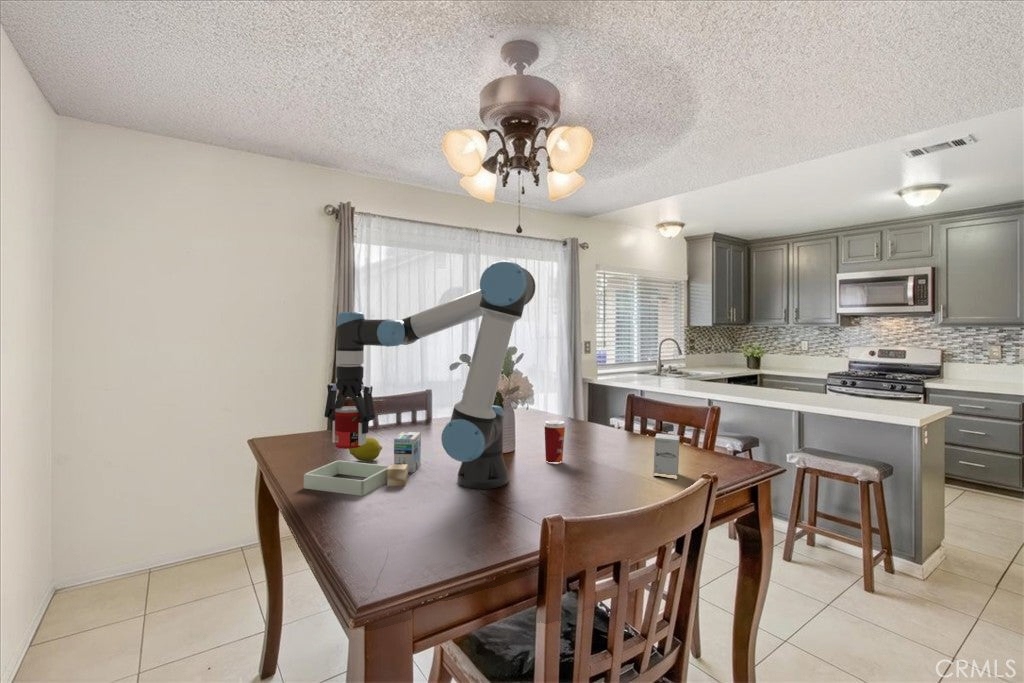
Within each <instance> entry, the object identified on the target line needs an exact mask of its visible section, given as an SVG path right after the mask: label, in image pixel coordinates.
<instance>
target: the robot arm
mask: <svg viewBox="0 0 1024 683" xmlns="http://www.w3.org/2000/svg"><path fill="white" fill-rule="evenodd" d="M535 292H536V281H535V278H534V276H533V275H532V274H531V272H530V271H529V270H527V268H524V267H521V265H519V264H518V263H515V262H513V261H508V260H500V261H495V262H493V263H491V264H490V265H488V266H487V267H486V269H484V270H483V272H482V274H481V276H480V280H479V289H477V290H474V291H473V292H469V293H467V294H464V295H461V296H460V297H456V298H454V299H452V300H449V301H447V302H444V303H442V304H441V303H440V304H439V305H436V306H434V307H431V308H429V309H426V310H423V311H421V312H419V313H415V314H412V315H410V316H407V317H404V318H403V319H400V320H399V319H390V318H389V319H388V318H387V319H386V318H385V319H367V318H365V314H364V313H363V312H355V311H354V312H353V311H352V312H351V311H350V312H349V311H340V312H338V314H337V317H336V326H335V328H336V353H335V354H336V355H335V356H336V359H335V360H336V361H335V364H336V365H337V366H336V368H335V369H336V371H335V378H336V380H337V381H336V383H328V384H327V396H326V403H325V407H324V408H325V410H324V417H325V418H328V419H329V420H330V431H332V442H331V443H333V444H335V409H336V408H341V407H344V404H345V402H346V400H347V399H348V398H349V399H351V400H352V401H353V403H354V405H355V406H356V408H357V410H358V412H359V413H358V414H359V417H360V420H361V422H360V423H359V429H358V445H359V446H361V445H364V444H366V438H367V434H368V433H369V422H370V421H373V420H375V418H376V414H375V408H374V400H373V395H372V394H373V386H372V385H365V384H364V382H363V380H364V373H365V372H364V366H363V364H364V358H365V357H364V354H365V352H364V348H365V346H375V347H376V346H378V347H379V346H380V347H387V348H389V347H398V346H400V345H402V346H406V345H407V346H408V345H411V344H414V343H416V342H417V341H418V340H420V339H423V338H425V337H428V336H430V335H433V334H437V333H439V332H442V331H445V330H447V329H450V328H453V327H455V326H458V325H461V324H464V323H467V322H469V321H472V320H475V319H477V318H480V317H482V318H481V321H480V325H479V329H478V333H477V336H476V341H475V344H474V348H473V353H472V356H471V361H470V364H469V369H468V373H467V377H466V380H465V385H464V388H463V392H462V396H461V400H460V401H458V402H456V403H455V404H454V406H453V409H452V413H451V416H450V417H451V418H450V421H449V422H447V423H446V425H445V426H444V428H443V430H442V432H441V445H442V448H443V449H444V451H445V453H446V454H447V455H448V456H449V457H450V458H451V459H453V460H454V461H457V462H461V463H460V467H459V469H458V471H457V483H458V484H459V485H460V486H462V487H464V488H468V489H475V490H487V489H489V490H490V489H497V488H501V487H503V485H504V486H506V485H507V484H508V482H509V473H508V470H507V466H506V463H505V459H504V457H503V446H504V445H503V444H504V441H503V440H504V418H505V417H504V409H503V407H502V406H501V405H500V406H499V405H494V402H495V399H496V395H497V394H496V393H497V390H498V386H499V383H500V380H501V379H500V378H501V374H502V371H503V368H504V363H505V359H506V356H507V352H508V348H509V345H510V340H511V336H512V332H513V328H514V324H515V323H516V322H518V321H520V319H522V316H523V313H524V308H525V306H526V305H527V304H529V303H530V302H531V300H532V299H533V298H534V295H535ZM337 391H338V392H337Z"/></svg>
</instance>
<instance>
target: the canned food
mask: <svg viewBox="0 0 1024 683" xmlns="http://www.w3.org/2000/svg"><path fill="white" fill-rule="evenodd" d="M358 413H359V412H358V410H357V408H356V406H354V405H351V406H350V405H346V406H344V405H343V407H341V408H336V409H335V443H334V445H335V447H336V448H338V449H340V450H341V449H343V450H349V449H352V448H358V447H361V446H362V445H361V446H359V445H358V429H359V423H360V422H361V420H360V417H359V414H358Z"/></svg>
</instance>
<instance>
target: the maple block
mask: <svg viewBox="0 0 1024 683" xmlns="http://www.w3.org/2000/svg"><path fill="white" fill-rule="evenodd" d="M388 466H389V468H388V469H387V483H386V484H387V487H406V484H407V483H408V481H409V480H408V479H409V478H408V477H409V474H408V473H409V472H408V464H394V463H392V464H391V463H390V465H388Z"/></svg>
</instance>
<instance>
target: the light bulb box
mask: <svg viewBox="0 0 1024 683" xmlns="http://www.w3.org/2000/svg"><path fill="white" fill-rule="evenodd" d="M421 447H422V432H418V431H417V432H414V431H413V432H410V431H402V432H400V433H399V434H398V435H397V436H396V437H394V438H393V464H408V473H415V472H416V470H417V469H418V468H419V467H420V465H421V464H422V463H421V462H422V461H421V456H422V455H421V452H422V448H421Z"/></svg>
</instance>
